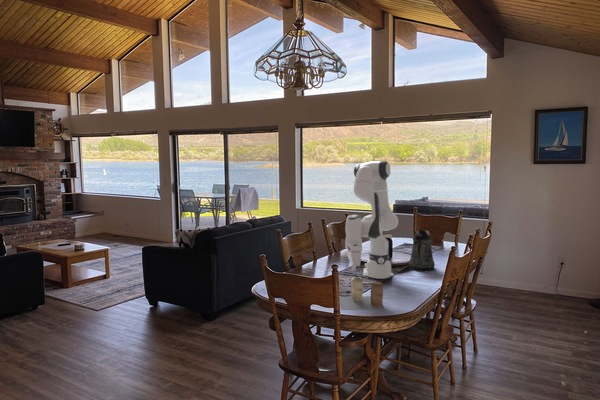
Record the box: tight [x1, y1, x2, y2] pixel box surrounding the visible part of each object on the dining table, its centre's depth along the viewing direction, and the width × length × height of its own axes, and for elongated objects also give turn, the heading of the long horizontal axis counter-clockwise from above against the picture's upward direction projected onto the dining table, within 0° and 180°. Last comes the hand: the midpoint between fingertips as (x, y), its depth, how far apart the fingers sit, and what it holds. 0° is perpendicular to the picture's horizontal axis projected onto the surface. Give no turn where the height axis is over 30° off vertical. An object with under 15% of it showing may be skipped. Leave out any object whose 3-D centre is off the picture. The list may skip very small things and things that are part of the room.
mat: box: [339, 295, 387, 311], centre depth 222 cm, size 19×22×1 cm
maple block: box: [350, 276, 364, 301], centre depth 227 cm, size 5×5×11 cm
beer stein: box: [408, 230, 435, 273], centre depth 286 cm, size 16×19×25 cm
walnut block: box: [370, 281, 384, 307], centre depth 218 cm, size 5×5×11 cm
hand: (353, 270), depth 235 cm, fingers closed
